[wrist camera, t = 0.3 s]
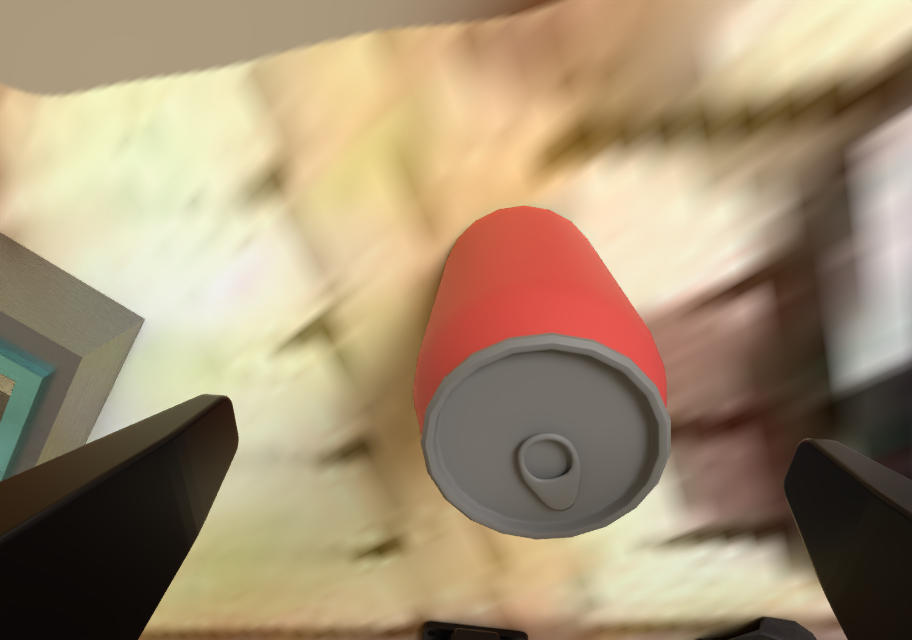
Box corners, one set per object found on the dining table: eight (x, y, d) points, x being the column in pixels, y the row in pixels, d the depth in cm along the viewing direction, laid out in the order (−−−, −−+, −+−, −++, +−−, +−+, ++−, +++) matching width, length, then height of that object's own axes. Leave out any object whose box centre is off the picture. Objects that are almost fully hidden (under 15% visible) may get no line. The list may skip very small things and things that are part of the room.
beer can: (471, 359, 24) (450, 577, 13) (424, 229, 22) (353, 361, 11) (609, 323, 23) (717, 531, 12) (576, 181, 20) (672, 274, 9)
